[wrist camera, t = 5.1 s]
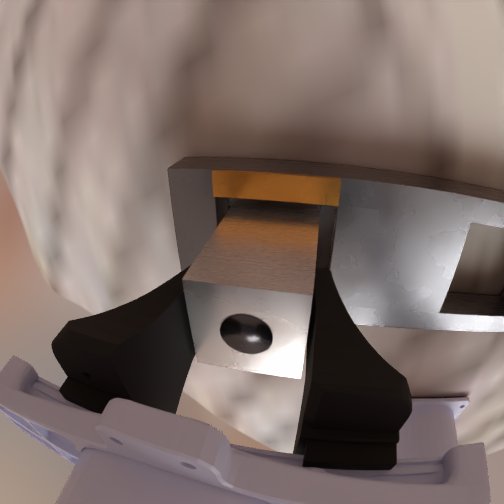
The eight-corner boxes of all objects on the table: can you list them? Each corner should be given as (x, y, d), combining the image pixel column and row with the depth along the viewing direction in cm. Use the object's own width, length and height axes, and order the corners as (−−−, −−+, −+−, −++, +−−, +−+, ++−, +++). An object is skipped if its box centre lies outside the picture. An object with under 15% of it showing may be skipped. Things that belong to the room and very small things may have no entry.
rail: (516, 312, 16) (527, 333, 14) (198, 282, 20) (185, 305, 18) (559, 206, 12) (578, 223, 10) (184, 157, 16) (165, 170, 14)
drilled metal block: (313, 273, 17) (300, 379, 11) (240, 265, 18) (196, 363, 12) (320, 203, 15) (312, 296, 9) (238, 196, 16) (181, 280, 10)
